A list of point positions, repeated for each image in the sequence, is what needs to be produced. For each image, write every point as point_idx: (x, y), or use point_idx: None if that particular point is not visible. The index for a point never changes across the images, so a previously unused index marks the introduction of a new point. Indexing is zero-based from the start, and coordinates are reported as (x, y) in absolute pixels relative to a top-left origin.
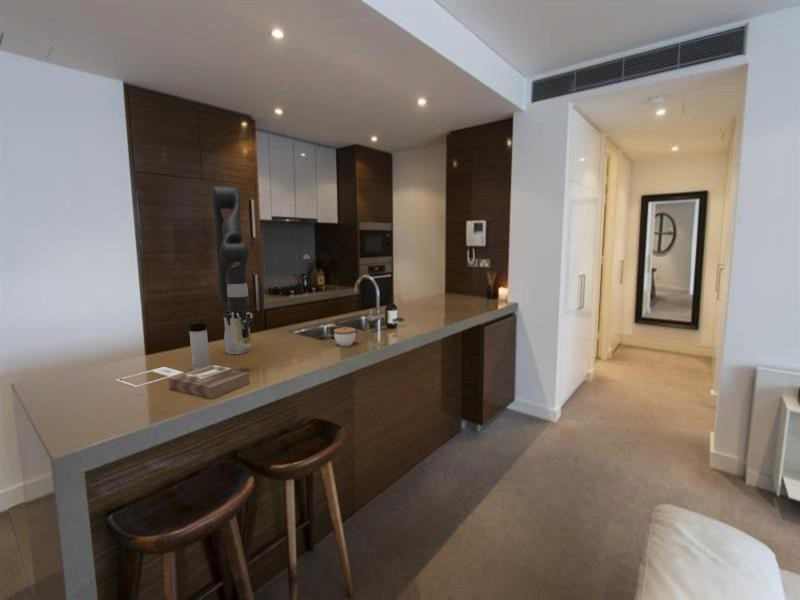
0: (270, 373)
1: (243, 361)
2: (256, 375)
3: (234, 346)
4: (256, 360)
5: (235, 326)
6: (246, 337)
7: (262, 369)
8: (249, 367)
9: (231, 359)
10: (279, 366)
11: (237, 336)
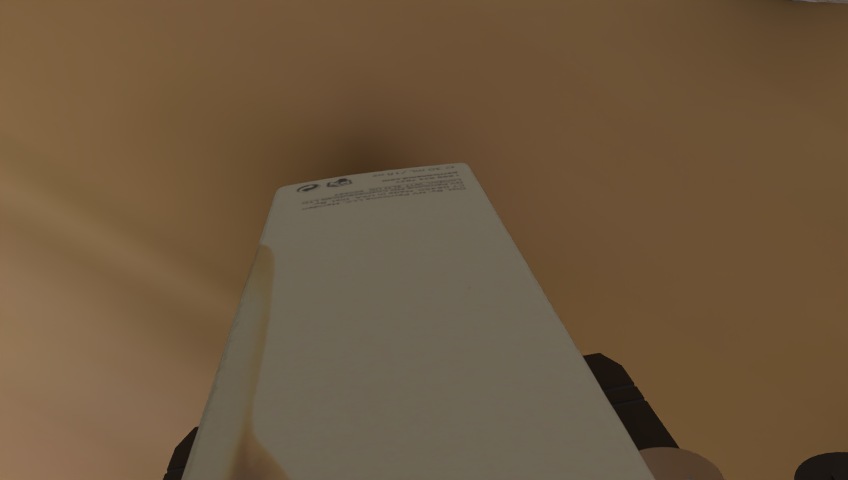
0: (15, 302)
1: (648, 353)
2: (71, 174)
3: (382, 183)
4: None
5: (285, 444)
6: None
7: (221, 325)
8: None
9: (823, 316)
10: None
11: (252, 287)
